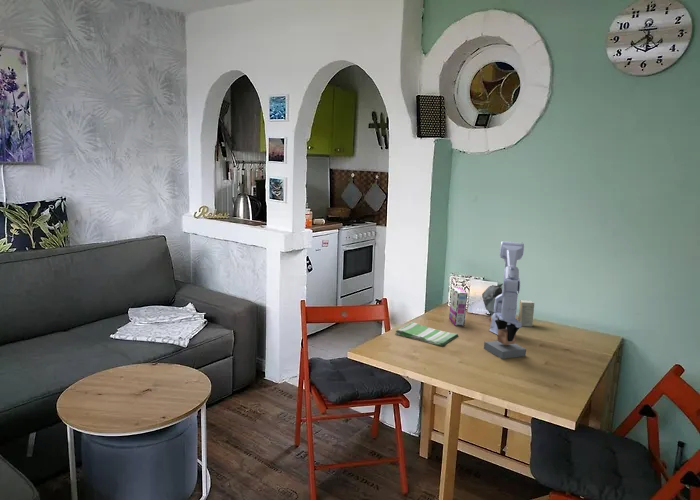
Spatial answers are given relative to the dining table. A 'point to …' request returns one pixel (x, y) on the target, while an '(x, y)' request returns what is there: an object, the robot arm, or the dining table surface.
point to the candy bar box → (458, 306)
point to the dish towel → (426, 334)
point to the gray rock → (491, 297)
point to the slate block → (504, 349)
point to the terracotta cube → (504, 337)
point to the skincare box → (526, 313)
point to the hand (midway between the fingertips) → (505, 338)
